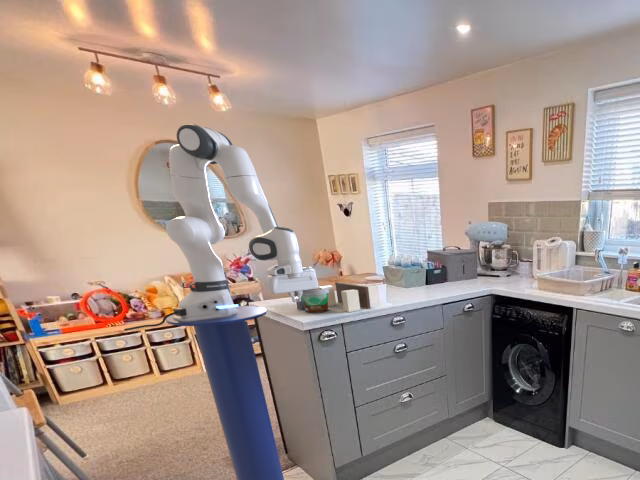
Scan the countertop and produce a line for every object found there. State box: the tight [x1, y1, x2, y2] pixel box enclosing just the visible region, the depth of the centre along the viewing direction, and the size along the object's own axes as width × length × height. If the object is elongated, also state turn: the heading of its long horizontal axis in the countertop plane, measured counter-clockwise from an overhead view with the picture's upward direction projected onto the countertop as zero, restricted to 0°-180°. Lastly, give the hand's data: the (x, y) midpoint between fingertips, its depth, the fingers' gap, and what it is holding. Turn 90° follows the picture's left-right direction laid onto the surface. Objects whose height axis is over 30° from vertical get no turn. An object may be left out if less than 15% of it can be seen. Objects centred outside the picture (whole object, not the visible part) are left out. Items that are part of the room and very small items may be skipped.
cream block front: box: [341, 289, 361, 313], centre depth 187 cm, size 6×4×9 cm, turn 144°
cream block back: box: [317, 285, 337, 307], centre depth 197 cm, size 6×4×9 cm, turn 144°
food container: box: [302, 288, 329, 314], centre depth 184 cm, size 12×6×10 cm, turn 122°
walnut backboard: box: [334, 281, 371, 310], centre depth 198 cm, size 2×24×10 cm, turn 54°
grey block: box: [294, 289, 312, 311], centre depth 189 cm, size 6×4×9 cm, turn 144°
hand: (297, 301), depth 177 cm, fingers closed
